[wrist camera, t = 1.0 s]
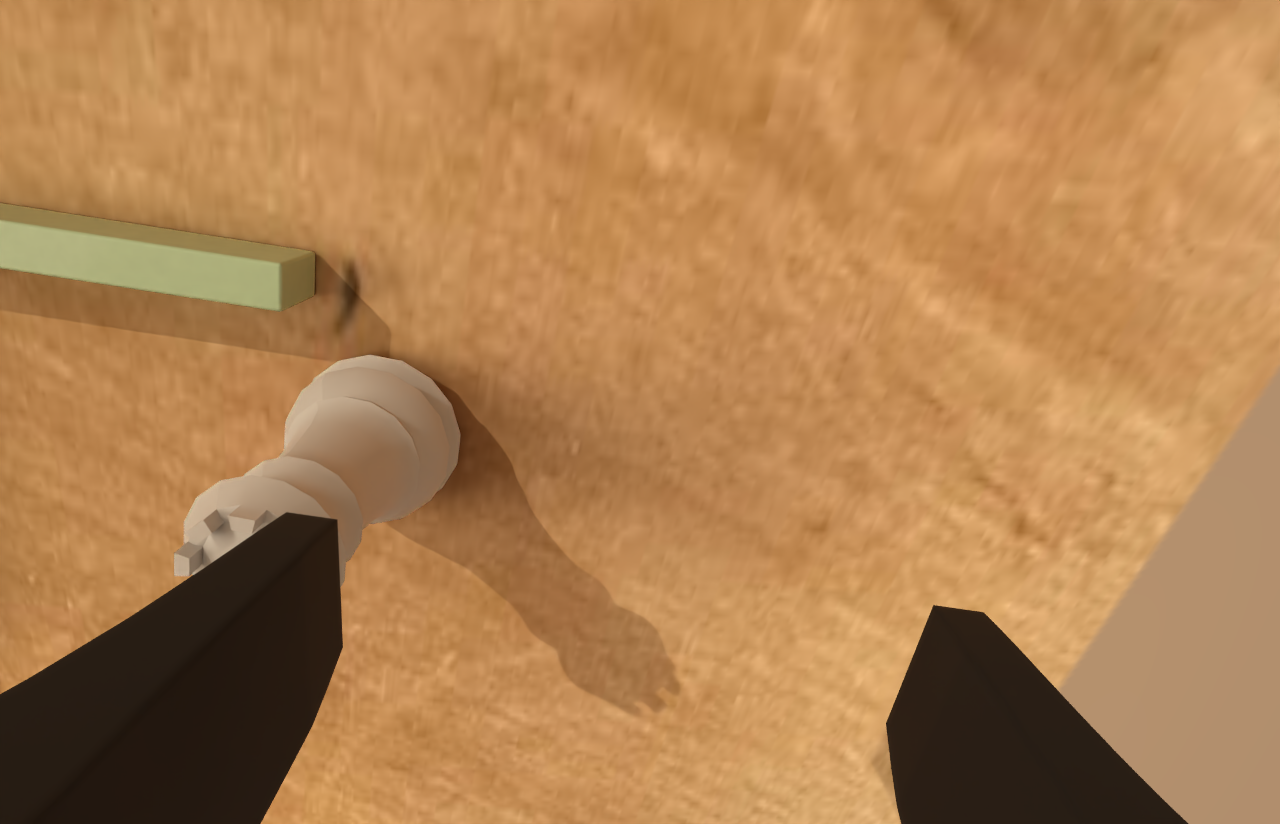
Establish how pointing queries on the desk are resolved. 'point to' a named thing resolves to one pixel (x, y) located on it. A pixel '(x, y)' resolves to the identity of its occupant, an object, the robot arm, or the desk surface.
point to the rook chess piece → (337, 461)
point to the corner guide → (154, 259)
